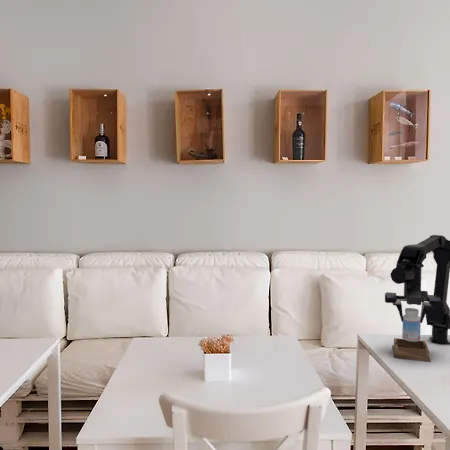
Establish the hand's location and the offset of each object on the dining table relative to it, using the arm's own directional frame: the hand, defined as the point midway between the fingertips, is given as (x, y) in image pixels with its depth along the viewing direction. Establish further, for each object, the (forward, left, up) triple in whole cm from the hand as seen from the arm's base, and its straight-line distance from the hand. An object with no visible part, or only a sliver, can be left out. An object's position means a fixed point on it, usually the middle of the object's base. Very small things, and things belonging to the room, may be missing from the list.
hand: (411, 322), depth 161 cm
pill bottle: (0, 0, -7) cm, 7 cm away
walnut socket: (0, 0, -12) cm, 12 cm away
